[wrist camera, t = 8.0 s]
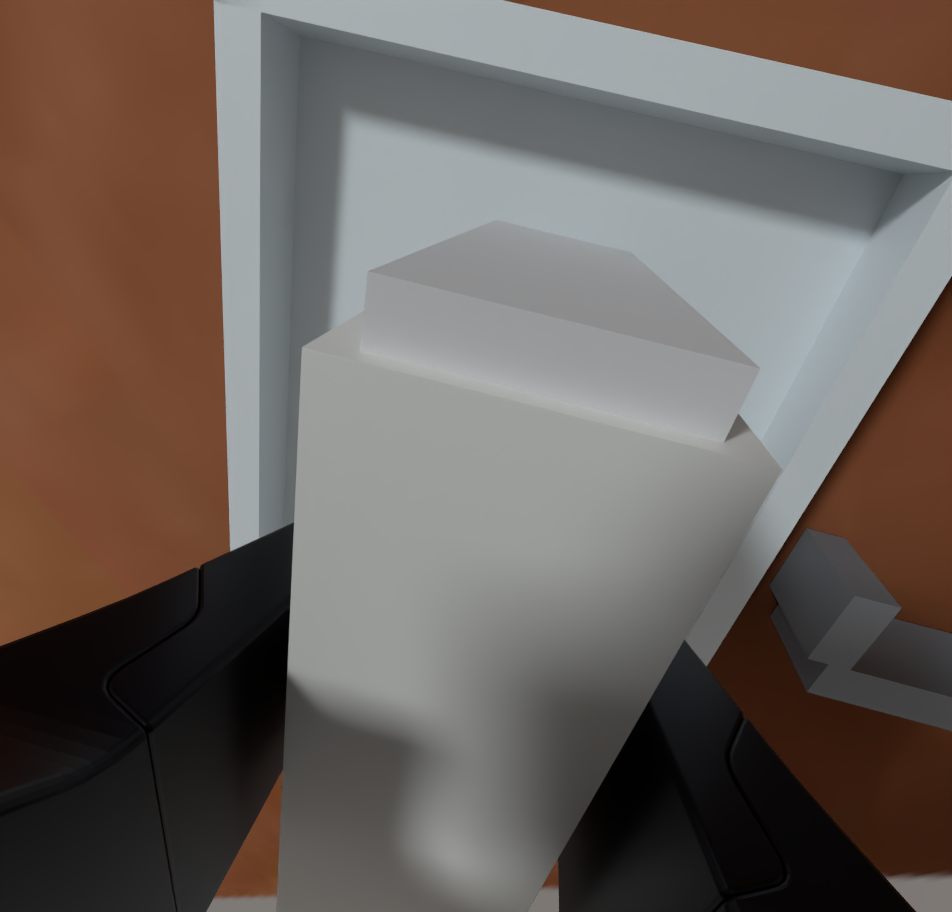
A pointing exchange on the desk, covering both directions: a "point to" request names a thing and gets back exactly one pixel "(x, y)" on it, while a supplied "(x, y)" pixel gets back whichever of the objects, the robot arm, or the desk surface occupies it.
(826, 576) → the clip holder
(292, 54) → the tray
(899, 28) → the desk surface
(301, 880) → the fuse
